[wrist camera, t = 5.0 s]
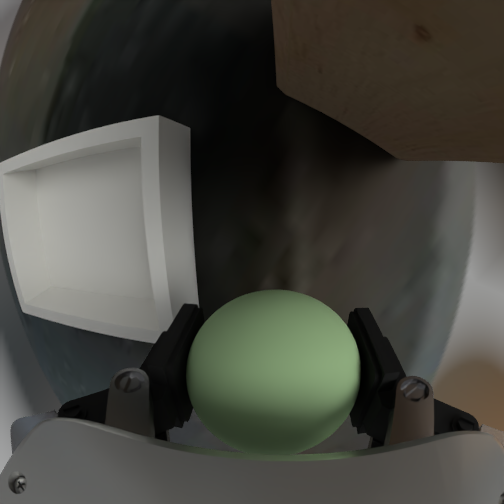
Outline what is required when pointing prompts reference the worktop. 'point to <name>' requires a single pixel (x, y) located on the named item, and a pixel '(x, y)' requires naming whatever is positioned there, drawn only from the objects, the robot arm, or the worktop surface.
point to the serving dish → (103, 228)
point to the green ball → (273, 372)
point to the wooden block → (400, 71)
